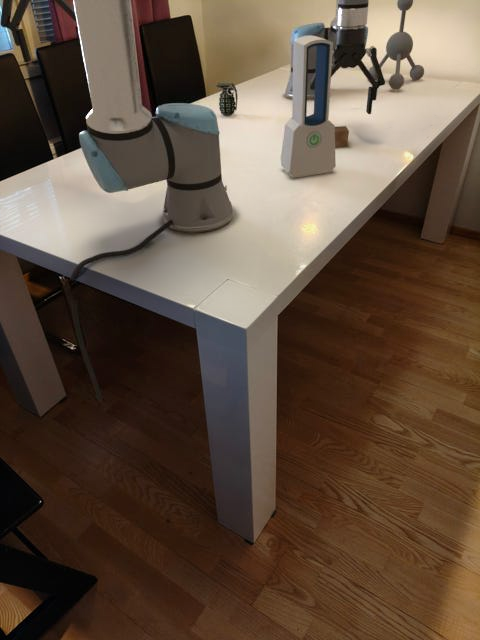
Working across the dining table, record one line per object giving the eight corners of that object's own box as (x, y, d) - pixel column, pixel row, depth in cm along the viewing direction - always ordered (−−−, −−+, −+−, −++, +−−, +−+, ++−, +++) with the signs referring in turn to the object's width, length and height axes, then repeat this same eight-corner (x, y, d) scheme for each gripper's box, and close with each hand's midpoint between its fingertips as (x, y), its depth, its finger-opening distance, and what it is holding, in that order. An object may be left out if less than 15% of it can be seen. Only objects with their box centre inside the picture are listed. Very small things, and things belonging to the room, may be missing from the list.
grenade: (217, 117, 168) (214, 86, 162) (221, 112, 172) (219, 82, 166) (235, 117, 166) (233, 86, 160) (239, 113, 171) (238, 82, 165)
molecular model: (441, 85, 188) (459, -9, 169) (393, 93, 182) (406, -3, 164) (404, 74, 205) (416, -12, 187) (359, 81, 200) (367, -7, 181)
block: (344, 142, 142) (345, 125, 139) (347, 147, 139) (349, 130, 136) (330, 143, 142) (331, 126, 139) (332, 147, 139) (334, 131, 136)
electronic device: (289, 178, 122) (291, 42, 103) (279, 168, 128) (280, 37, 109) (335, 171, 124) (345, 37, 106) (323, 161, 130) (331, 32, 111)
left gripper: (91, -57, 105) (111, 53, 118) (-24, -50, 105) (9, 59, 118) (83, -57, 99) (106, 59, 112) (-39, -50, 99) (-2, 65, 112)
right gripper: (396, 21, 126) (385, 107, 140) (300, 27, 127) (298, 113, 140) (404, 26, 121) (392, 115, 134) (304, 32, 121) (301, 120, 134)
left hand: (56, 59), depth 115 cm, fingers open, 13 cm apart
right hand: (344, 114), depth 137 cm, fingers open, 13 cm apart
